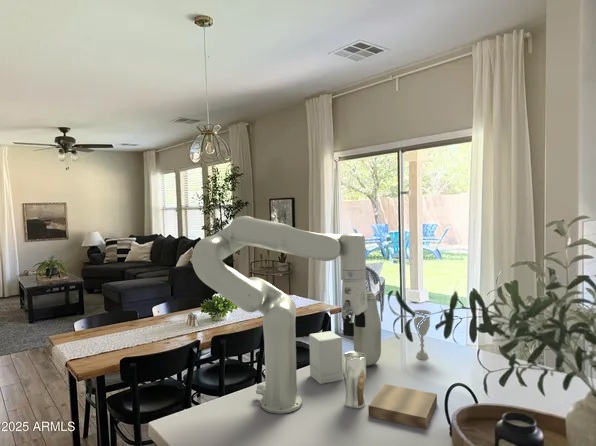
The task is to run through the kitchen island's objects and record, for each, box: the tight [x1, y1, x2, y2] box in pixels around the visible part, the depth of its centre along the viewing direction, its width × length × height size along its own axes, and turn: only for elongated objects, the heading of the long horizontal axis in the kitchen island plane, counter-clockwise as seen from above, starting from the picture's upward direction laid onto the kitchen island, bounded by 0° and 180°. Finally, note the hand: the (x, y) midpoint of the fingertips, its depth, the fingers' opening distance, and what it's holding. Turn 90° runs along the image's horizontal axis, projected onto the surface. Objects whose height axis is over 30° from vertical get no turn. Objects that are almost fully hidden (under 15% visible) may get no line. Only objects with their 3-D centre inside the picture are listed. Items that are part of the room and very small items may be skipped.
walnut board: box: [367, 383, 438, 430], centre depth 120 cm, size 16×16×3 cm
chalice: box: [413, 309, 432, 361], centre depth 161 cm, size 7×7×18 cm
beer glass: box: [342, 350, 367, 409], centre depth 124 cm, size 7×7×15 cm
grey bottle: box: [353, 290, 382, 367], centre depth 155 cm, size 10×10×28 cm
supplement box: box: [308, 330, 344, 385], centre depth 144 cm, size 9×9×15 cm
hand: (354, 331), depth 123 cm, fingers open, 9 cm apart
